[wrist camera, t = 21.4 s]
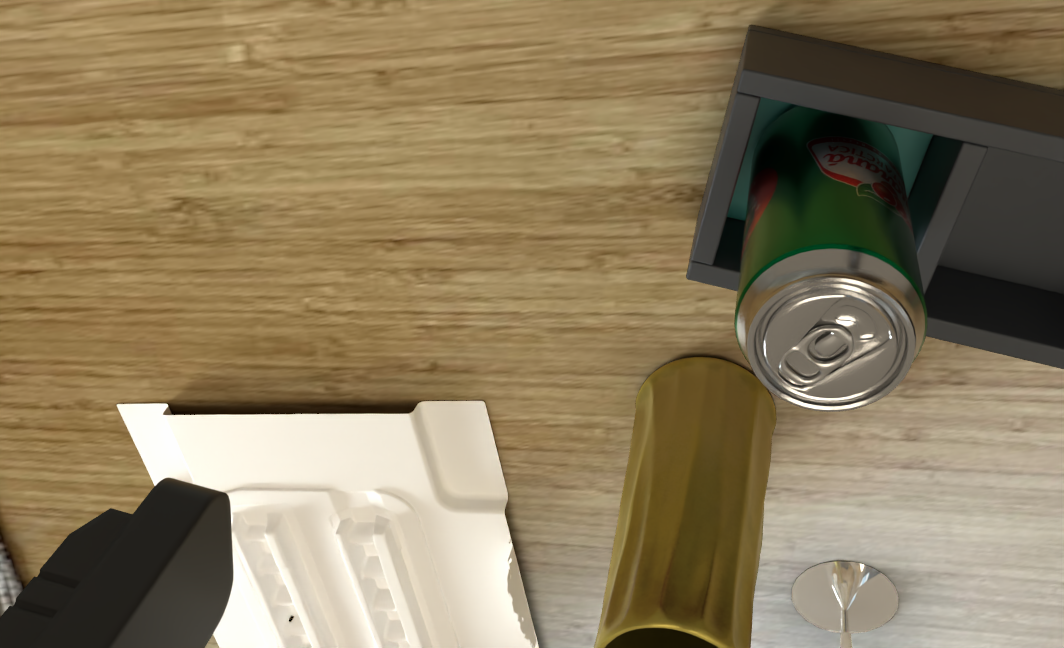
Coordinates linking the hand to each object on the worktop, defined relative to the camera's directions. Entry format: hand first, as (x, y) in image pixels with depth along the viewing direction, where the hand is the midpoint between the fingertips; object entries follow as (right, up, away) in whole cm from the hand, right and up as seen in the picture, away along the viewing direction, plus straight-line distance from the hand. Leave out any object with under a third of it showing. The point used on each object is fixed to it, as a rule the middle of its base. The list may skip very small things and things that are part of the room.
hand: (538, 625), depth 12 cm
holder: (+14, +9, +25) cm, 30 cm away
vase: (+8, 0, +33) cm, 34 cm away
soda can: (+10, +10, +25) cm, 28 cm away
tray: (-10, -12, +45) cm, 48 cm away
